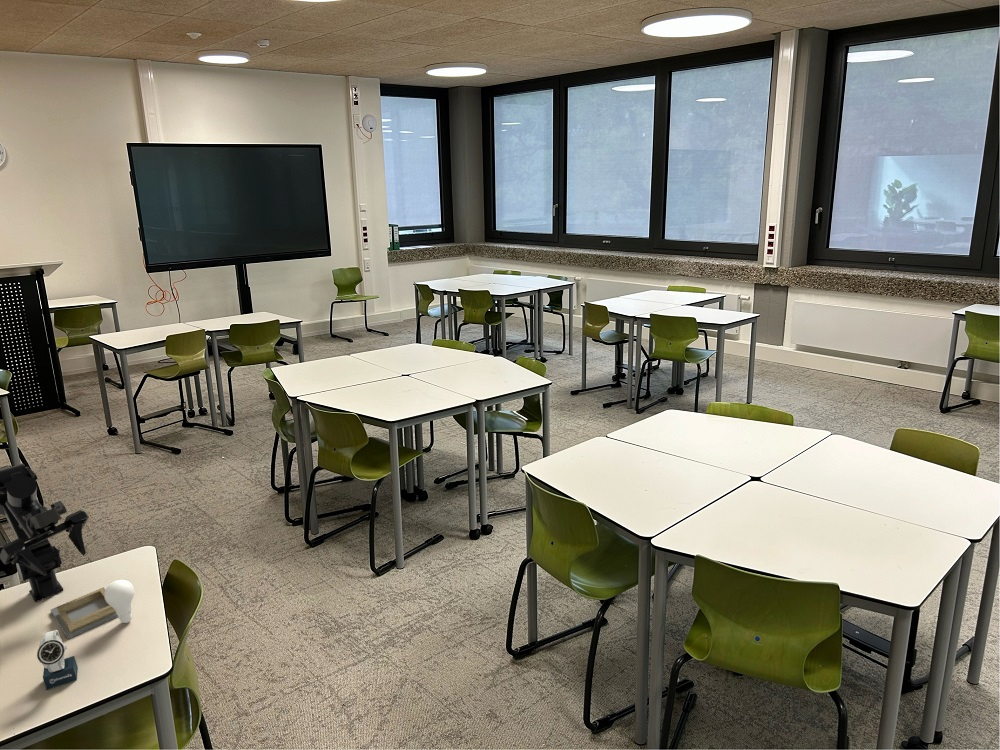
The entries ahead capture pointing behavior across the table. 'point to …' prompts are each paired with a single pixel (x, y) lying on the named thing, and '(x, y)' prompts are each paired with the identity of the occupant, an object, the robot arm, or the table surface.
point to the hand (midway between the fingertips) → (65, 564)
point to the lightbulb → (120, 598)
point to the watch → (56, 661)
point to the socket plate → (84, 613)
